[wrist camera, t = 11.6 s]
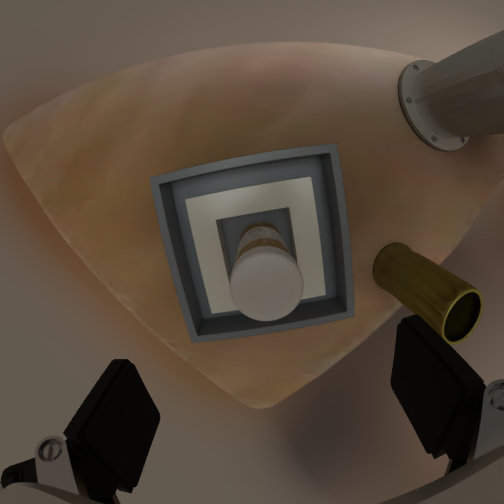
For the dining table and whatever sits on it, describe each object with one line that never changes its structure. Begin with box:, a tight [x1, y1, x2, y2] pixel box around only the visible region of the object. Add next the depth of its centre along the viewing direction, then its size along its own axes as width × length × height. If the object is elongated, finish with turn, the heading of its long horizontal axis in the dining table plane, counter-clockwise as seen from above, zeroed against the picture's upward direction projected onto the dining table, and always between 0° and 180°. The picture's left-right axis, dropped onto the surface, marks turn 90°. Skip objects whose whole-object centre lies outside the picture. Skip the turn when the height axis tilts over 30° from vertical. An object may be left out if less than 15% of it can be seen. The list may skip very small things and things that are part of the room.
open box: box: [150, 143, 354, 343], centre depth 28 cm, size 18×18×4 cm
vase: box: [374, 243, 483, 345], centre depth 23 cm, size 6×6×14 cm
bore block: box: [185, 177, 326, 314], centre depth 28 cm, size 12×12×3 cm
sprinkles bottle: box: [230, 221, 304, 321], centre depth 23 cm, size 5×5×13 cm
